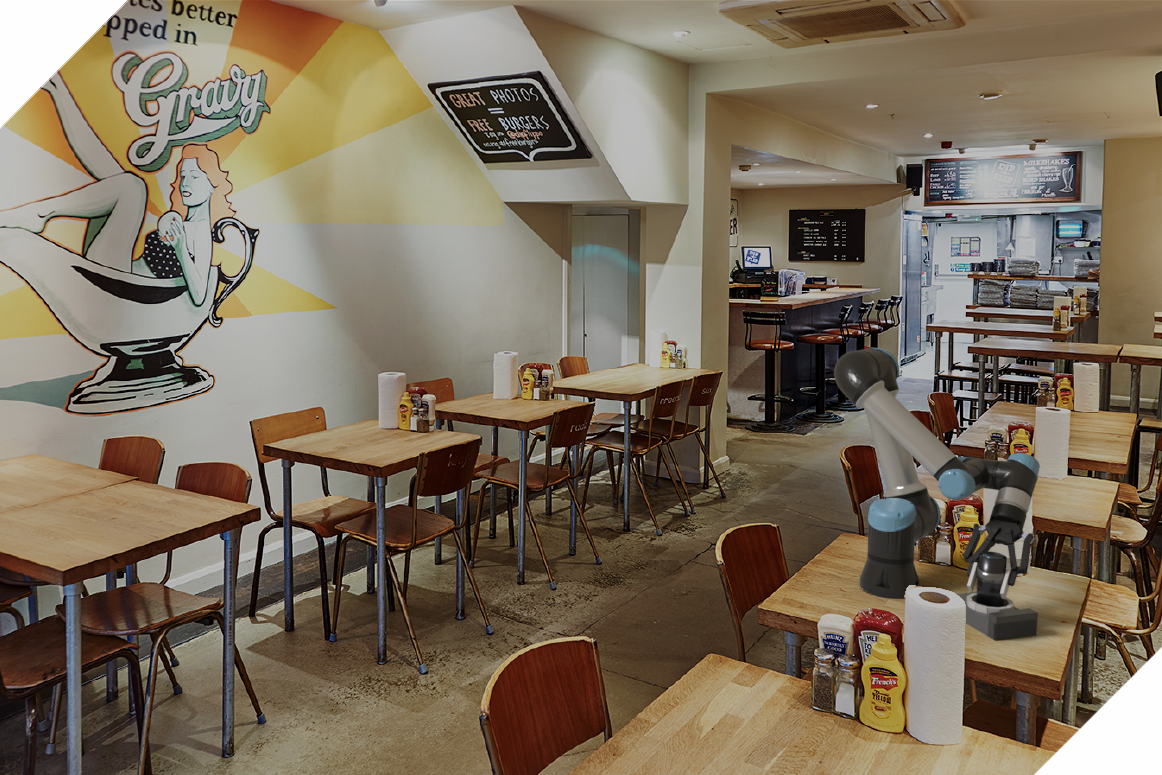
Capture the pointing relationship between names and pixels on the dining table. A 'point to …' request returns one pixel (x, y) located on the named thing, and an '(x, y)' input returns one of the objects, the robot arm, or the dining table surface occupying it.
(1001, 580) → the lens
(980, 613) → the camera body
